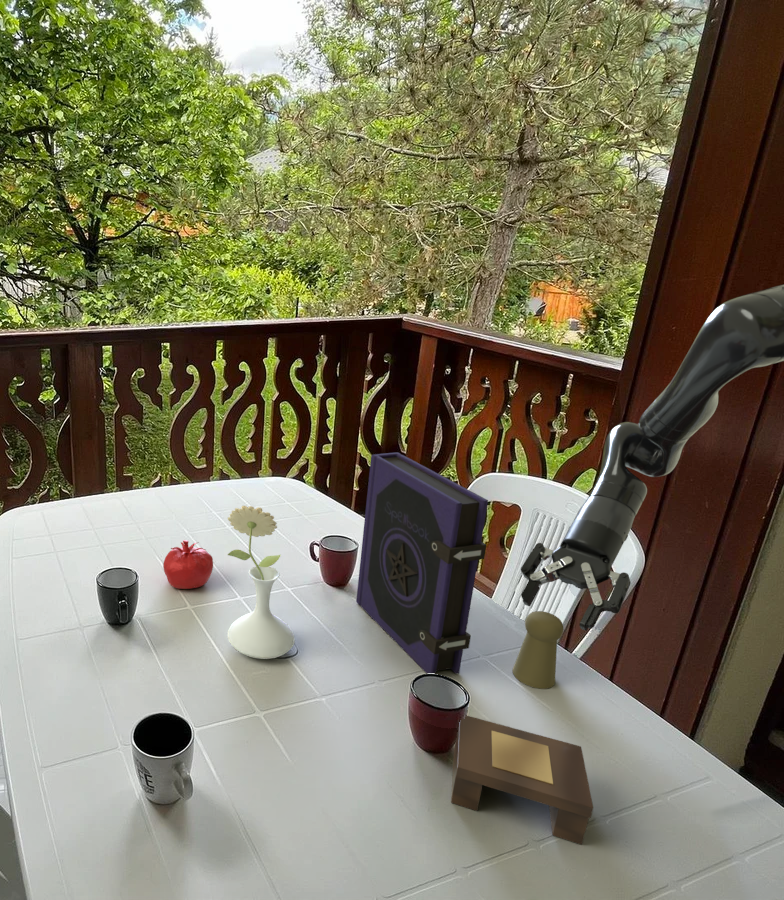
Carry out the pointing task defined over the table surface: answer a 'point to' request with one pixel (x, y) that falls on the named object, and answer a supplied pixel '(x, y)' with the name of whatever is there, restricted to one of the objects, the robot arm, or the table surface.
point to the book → (420, 559)
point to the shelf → (523, 772)
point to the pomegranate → (188, 566)
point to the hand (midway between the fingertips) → (553, 615)
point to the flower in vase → (259, 594)
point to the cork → (539, 650)
